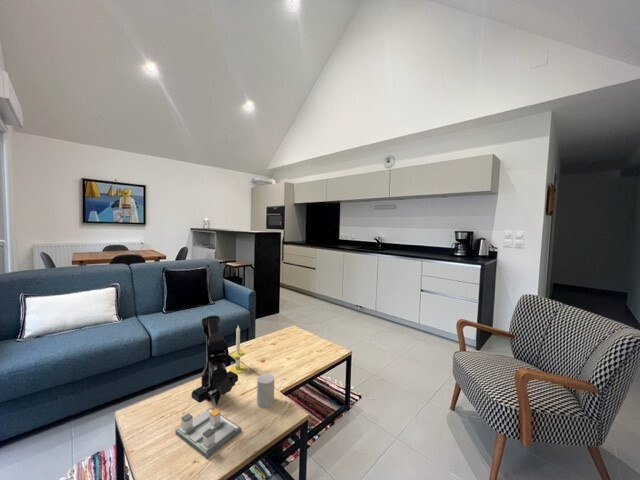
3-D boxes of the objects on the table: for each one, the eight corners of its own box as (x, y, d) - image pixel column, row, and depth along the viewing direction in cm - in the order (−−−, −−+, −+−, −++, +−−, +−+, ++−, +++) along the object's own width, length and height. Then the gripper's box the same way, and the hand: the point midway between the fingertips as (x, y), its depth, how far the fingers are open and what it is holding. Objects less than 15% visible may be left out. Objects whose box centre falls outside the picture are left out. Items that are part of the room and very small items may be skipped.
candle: (239, 363, 165) (239, 320, 164) (250, 368, 159) (250, 324, 158) (225, 370, 157) (225, 325, 155) (236, 376, 151) (236, 329, 150)
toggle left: (181, 427, 109) (181, 417, 109) (188, 422, 112) (188, 413, 111) (185, 430, 108) (185, 420, 107) (192, 425, 110) (192, 416, 110)
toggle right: (202, 443, 101) (202, 432, 101) (209, 438, 104) (209, 427, 104) (207, 446, 100) (207, 436, 100) (214, 441, 102) (214, 431, 102)
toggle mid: (209, 422, 112) (209, 413, 112) (215, 418, 115) (215, 409, 114) (214, 425, 111) (214, 416, 110) (220, 421, 113) (220, 411, 113)
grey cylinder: (270, 409, 125) (270, 384, 124) (254, 406, 127) (254, 382, 126) (276, 398, 133) (276, 375, 132) (261, 395, 135) (261, 372, 134)
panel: (175, 433, 109) (175, 428, 109) (209, 411, 123) (209, 406, 122) (207, 458, 98) (207, 452, 98) (241, 431, 111) (241, 425, 111)
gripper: (207, 387, 100) (207, 427, 101) (246, 366, 115) (246, 400, 116) (190, 376, 106) (190, 414, 107) (230, 358, 121) (229, 390, 122)
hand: (215, 404), depth 113 cm, fingers closed
